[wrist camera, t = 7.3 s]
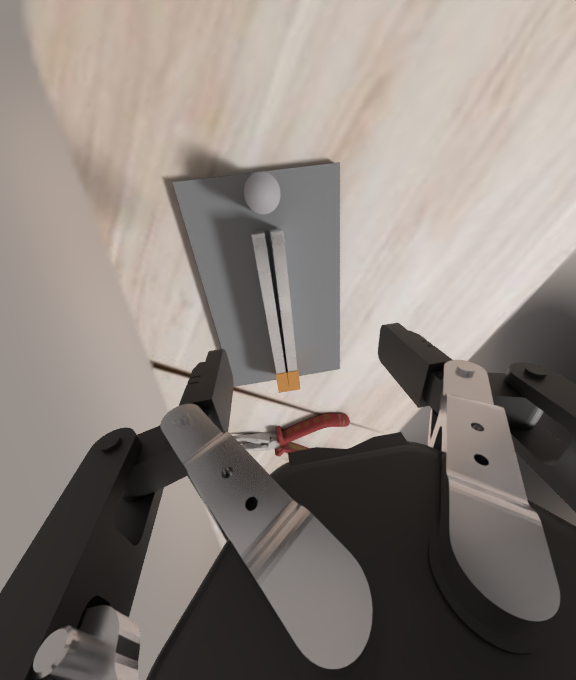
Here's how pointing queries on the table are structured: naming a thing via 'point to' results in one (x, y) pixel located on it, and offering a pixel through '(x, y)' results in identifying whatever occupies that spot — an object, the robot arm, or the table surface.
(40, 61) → the table surface
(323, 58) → the table surface
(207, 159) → the table surface
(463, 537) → the robot arm
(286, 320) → the leg
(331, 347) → the mat
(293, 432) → the pliers
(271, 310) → the leg
